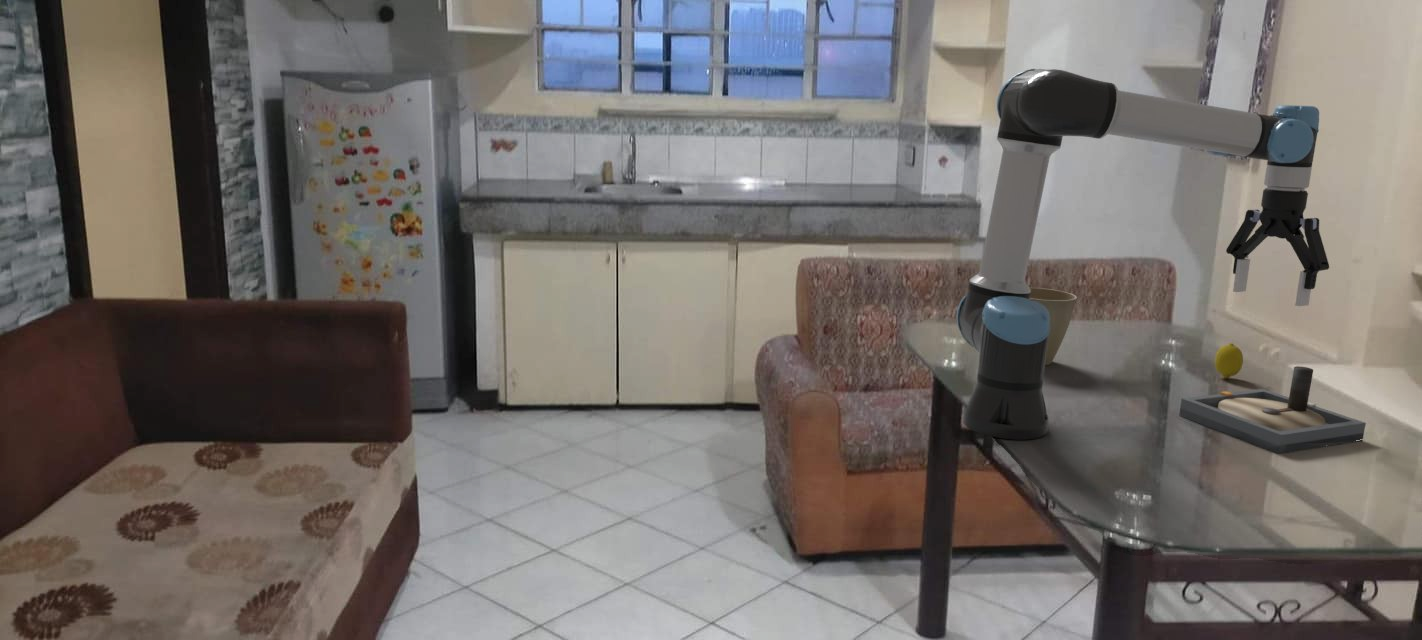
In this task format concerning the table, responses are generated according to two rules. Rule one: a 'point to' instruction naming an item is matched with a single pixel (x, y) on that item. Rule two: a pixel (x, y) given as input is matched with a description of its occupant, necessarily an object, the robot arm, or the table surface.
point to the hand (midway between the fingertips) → (1269, 298)
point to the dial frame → (1331, 433)
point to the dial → (1279, 406)
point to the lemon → (1229, 360)
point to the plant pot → (1055, 315)
